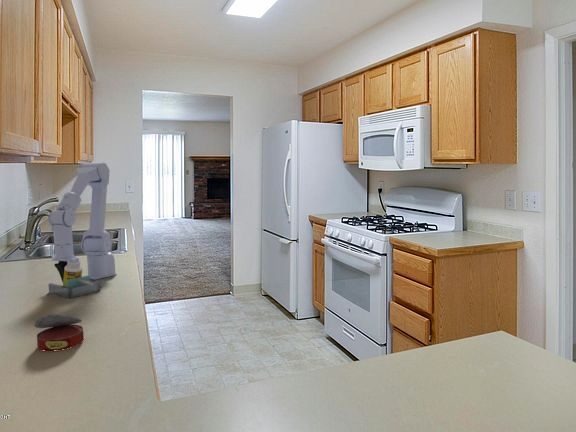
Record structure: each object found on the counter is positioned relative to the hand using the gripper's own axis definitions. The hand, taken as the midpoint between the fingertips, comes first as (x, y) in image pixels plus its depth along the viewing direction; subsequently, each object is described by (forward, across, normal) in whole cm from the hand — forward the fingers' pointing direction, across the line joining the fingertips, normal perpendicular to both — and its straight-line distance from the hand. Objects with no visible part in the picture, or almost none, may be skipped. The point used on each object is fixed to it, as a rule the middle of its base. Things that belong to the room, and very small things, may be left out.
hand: (66, 282), depth 154 cm
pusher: (+2, +12, 0) cm, 12 cm away
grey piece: (+2, +5, 0) cm, 5 cm away
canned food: (+3, +47, -27) cm, 54 cm away
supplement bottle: (+2, +3, 0) cm, 4 cm away
